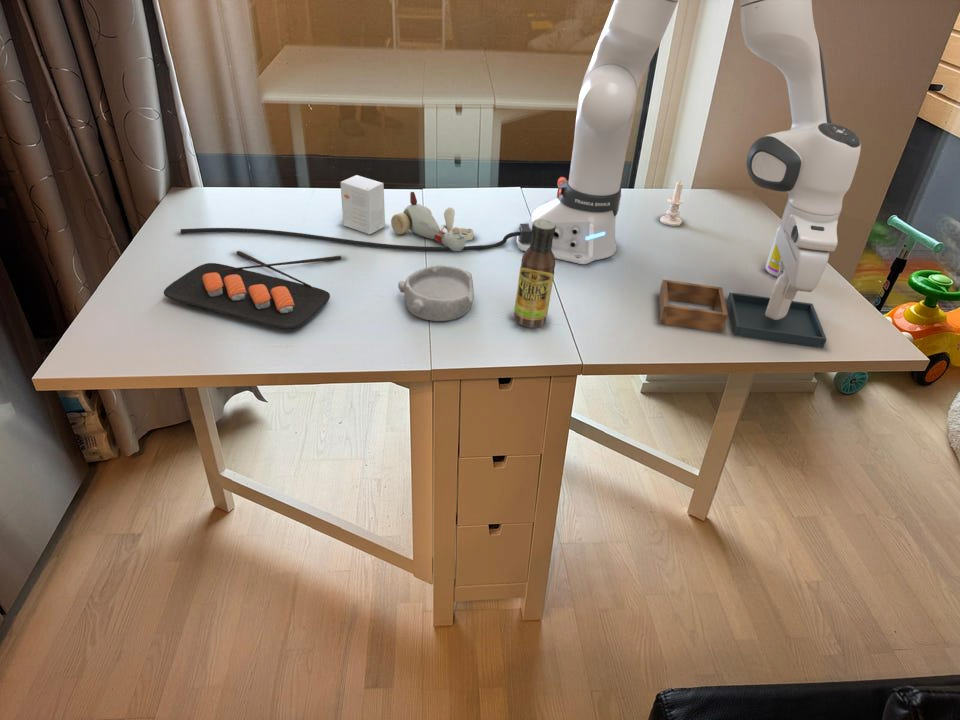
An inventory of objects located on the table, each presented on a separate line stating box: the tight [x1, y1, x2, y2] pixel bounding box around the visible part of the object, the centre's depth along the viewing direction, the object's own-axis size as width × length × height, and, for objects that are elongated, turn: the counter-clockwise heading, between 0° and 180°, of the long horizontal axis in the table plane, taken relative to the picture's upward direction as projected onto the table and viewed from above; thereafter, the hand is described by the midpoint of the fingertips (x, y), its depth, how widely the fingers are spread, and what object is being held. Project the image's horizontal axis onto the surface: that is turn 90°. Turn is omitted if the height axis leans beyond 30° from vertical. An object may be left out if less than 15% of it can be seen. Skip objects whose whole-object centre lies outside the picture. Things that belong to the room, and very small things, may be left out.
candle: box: [659, 181, 684, 227], centre depth 173 cm, size 5×5×10 cm
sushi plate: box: [163, 250, 342, 330], centre depth 139 cm, size 29×30×4 cm
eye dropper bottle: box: [765, 269, 793, 320], centre depth 135 cm, size 4×6×12 cm
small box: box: [340, 174, 386, 235], centre depth 161 cm, size 8×6×10 cm
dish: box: [397, 264, 475, 322], centre depth 136 cm, size 14×14×5 cm
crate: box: [658, 279, 729, 334], centre depth 139 cm, size 12×11×4 cm
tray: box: [726, 291, 828, 349], centre depth 139 cm, size 16×13×2 cm
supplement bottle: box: [765, 226, 781, 277], centre depth 153 cm, size 7×7×13 cm
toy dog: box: [390, 191, 475, 252], centre depth 158 cm, size 12×19×9 cm, turn 69°
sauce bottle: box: [513, 219, 556, 329], centre depth 129 cm, size 6×6×20 cm
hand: (784, 288), depth 135 cm, fingers closed on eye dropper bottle, 5 cm apart
